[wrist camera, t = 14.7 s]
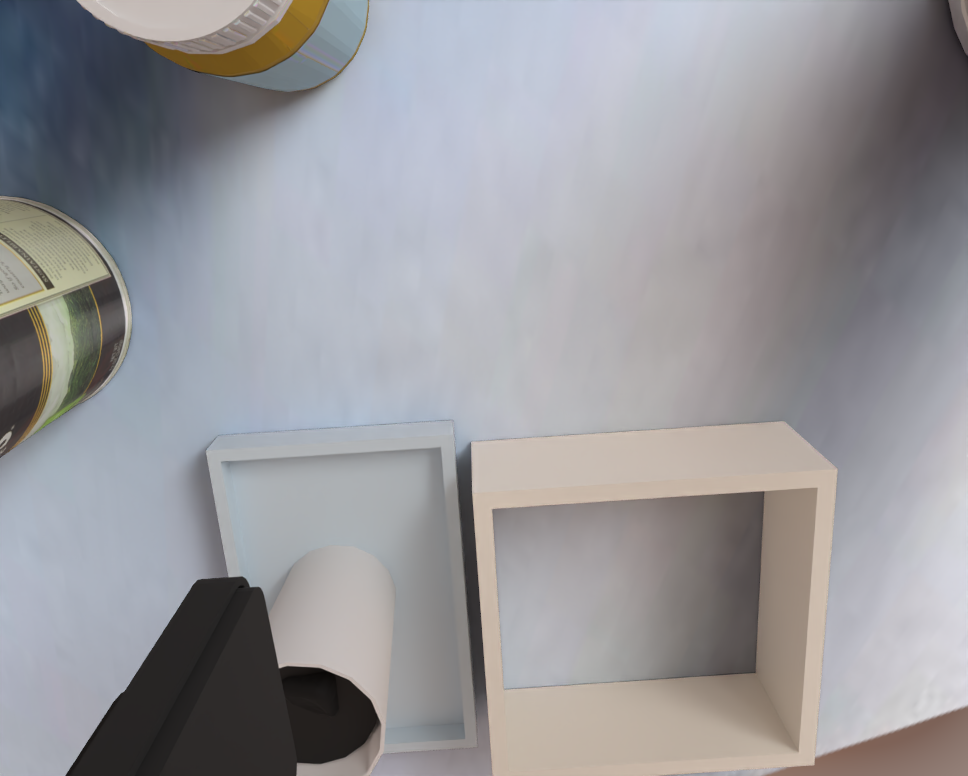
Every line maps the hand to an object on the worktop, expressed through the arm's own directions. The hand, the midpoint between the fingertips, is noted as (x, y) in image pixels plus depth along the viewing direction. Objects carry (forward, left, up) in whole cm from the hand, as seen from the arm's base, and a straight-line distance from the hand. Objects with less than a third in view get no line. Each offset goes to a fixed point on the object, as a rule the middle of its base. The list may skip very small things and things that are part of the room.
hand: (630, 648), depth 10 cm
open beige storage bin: (-5, +16, -28) cm, 33 cm away
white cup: (+10, +16, -28) cm, 33 cm away
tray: (+9, +16, -28) cm, 34 cm away
